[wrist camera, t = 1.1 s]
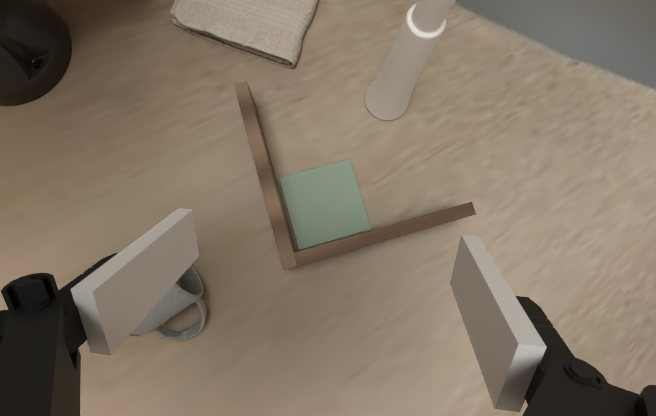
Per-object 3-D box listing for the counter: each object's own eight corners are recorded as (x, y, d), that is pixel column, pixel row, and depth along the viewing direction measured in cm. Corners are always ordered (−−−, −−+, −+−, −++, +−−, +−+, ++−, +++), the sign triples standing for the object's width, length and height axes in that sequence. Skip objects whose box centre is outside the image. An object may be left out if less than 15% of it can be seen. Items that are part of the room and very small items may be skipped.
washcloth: (202, -42, 47) (194, -62, 44) (322, -2, 47) (323, -19, 44) (170, 31, 46) (160, 15, 43) (295, 73, 46) (294, 60, 43)
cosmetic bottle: (416, 94, 46) (511, -47, 24) (393, 129, 45) (470, 17, 23) (379, 70, 46) (440, -91, 24) (356, 105, 45) (397, -29, 23)
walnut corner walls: (244, 106, 44) (233, 84, 38) (403, 66, 46) (417, 39, 40) (287, 267, 42) (283, 270, 36) (453, 218, 44) (475, 214, 38)
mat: (279, 178, 43) (279, 178, 43) (349, 159, 44) (350, 158, 44) (299, 249, 42) (299, 249, 42) (370, 229, 43) (371, 229, 43)
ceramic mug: (120, 284, 41) (77, 293, 33) (175, 242, 42) (145, 242, 34) (172, 353, 40) (140, 378, 33) (227, 309, 41) (208, 324, 34)
